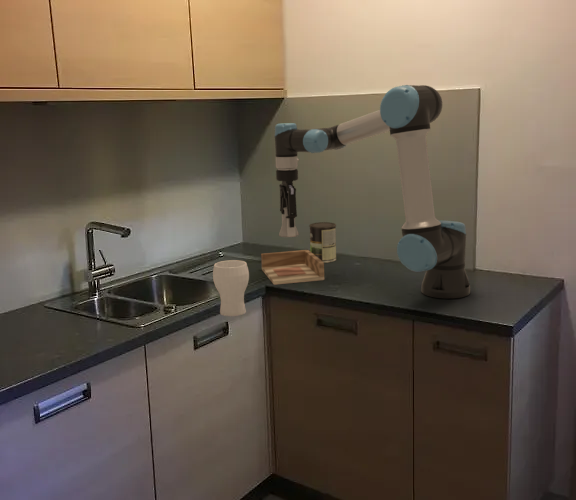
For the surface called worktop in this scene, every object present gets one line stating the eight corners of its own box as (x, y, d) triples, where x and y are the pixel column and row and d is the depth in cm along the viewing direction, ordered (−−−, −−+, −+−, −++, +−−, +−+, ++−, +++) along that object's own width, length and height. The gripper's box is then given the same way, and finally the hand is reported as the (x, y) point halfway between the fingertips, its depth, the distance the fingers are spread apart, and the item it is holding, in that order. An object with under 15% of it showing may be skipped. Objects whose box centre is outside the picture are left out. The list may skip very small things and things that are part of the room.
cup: (228, 305, 205) (225, 258, 202) (257, 309, 200) (255, 261, 197) (208, 315, 196) (204, 266, 193) (237, 320, 191) (235, 269, 188)
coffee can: (309, 262, 256) (308, 227, 253) (311, 256, 266) (310, 222, 263) (335, 262, 254) (334, 226, 251) (337, 256, 264) (336, 222, 261)
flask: (298, 237, 229) (297, 209, 227) (277, 238, 230) (276, 209, 227) (299, 233, 236) (299, 205, 234) (279, 233, 237) (278, 206, 234)
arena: (324, 279, 231) (324, 262, 229) (273, 284, 227) (273, 267, 225) (308, 265, 252) (307, 249, 250) (261, 269, 248) (261, 253, 246)
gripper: (305, 171, 219) (306, 238, 224) (290, 165, 238) (292, 228, 243) (283, 172, 217) (285, 240, 222) (270, 166, 236) (272, 230, 241)
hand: (288, 234), depth 233 cm, fingers closed on flask, 7 cm apart
